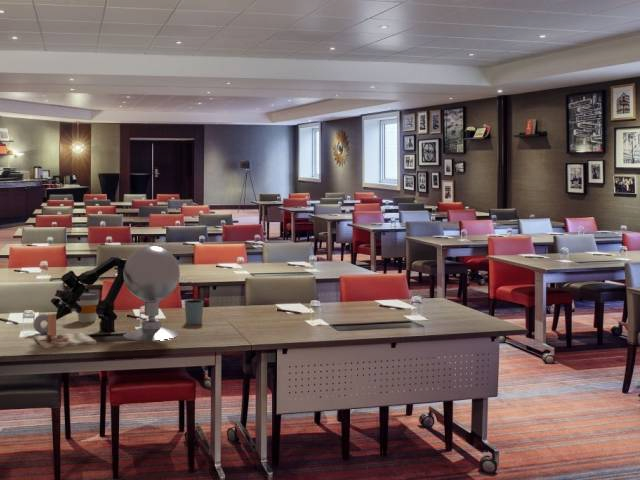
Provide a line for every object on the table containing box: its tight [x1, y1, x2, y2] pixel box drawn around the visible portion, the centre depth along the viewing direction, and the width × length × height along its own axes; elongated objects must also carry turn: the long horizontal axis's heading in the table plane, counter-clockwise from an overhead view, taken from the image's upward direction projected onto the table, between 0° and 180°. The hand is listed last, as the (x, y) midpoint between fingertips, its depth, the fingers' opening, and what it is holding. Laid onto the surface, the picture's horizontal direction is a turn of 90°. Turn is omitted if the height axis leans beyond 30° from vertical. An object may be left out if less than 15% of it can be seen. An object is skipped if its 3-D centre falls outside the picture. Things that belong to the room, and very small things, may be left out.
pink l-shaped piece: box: [45, 313, 69, 342], centre depth 404 cm, size 12×6×11 cm, turn 52°
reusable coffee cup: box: [77, 291, 100, 324], centre depth 456 cm, size 13×13×15 cm
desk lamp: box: [122, 245, 181, 342], centre depth 423 cm, size 28×28×45 cm
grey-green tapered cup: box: [184, 299, 204, 325], centre depth 458 cm, size 10×10×12 cm
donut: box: [33, 313, 49, 335], centre depth 422 cm, size 10×4×10 cm, turn 114°
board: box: [33, 332, 97, 349], centre depth 407 cm, size 24×22×4 cm
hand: (55, 319), depth 407 cm, fingers closed
